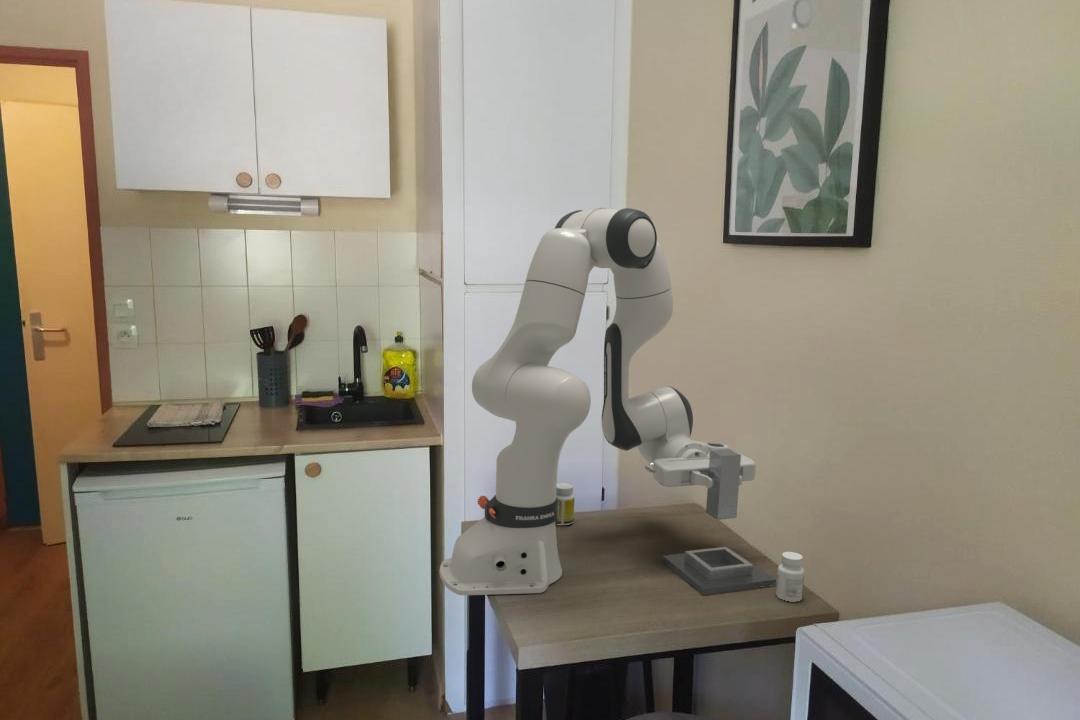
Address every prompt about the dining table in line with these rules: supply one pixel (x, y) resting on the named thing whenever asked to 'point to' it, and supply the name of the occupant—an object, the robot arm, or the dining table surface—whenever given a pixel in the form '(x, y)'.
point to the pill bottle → (790, 577)
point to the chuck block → (717, 570)
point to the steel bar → (723, 484)
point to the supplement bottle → (565, 503)
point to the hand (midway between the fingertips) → (726, 482)
